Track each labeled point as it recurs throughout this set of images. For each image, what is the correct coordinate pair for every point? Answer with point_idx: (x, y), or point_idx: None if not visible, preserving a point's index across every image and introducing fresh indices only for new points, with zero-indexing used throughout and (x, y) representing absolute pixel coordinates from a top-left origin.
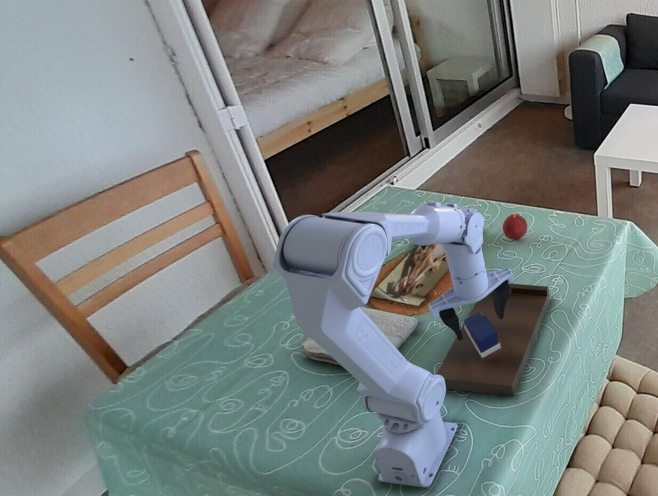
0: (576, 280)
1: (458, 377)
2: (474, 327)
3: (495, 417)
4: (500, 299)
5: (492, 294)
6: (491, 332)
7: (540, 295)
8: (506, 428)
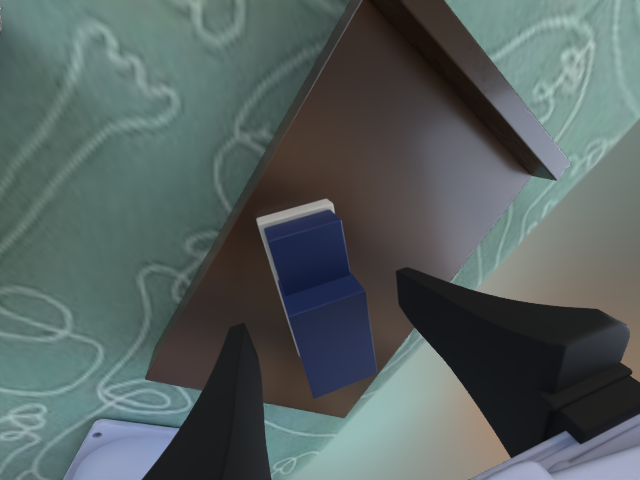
0: (600, 101)
1: None
2: (311, 344)
3: (291, 420)
4: (503, 442)
5: (468, 319)
6: (362, 375)
7: (519, 163)
8: (305, 437)
